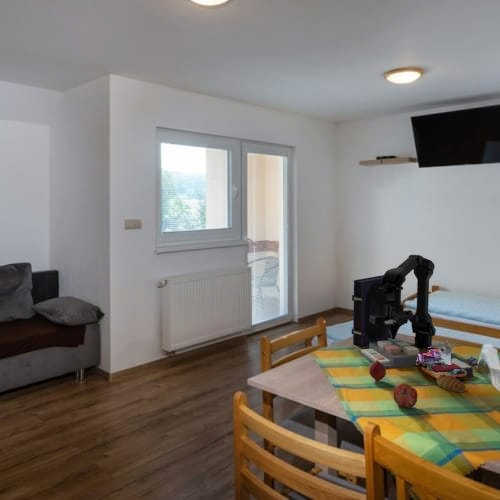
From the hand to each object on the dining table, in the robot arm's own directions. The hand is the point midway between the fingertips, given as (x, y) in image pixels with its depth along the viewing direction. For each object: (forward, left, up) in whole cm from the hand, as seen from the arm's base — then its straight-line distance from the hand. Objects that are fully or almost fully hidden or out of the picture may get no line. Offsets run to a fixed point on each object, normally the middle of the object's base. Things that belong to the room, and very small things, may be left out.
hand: (392, 339), depth 189 cm
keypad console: (0, -3, -9) cm, 10 cm away
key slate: (-6, -10, -6) cm, 13 cm away
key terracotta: (0, 0, -6) cm, 6 cm away
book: (-5, -28, -9) cm, 30 cm away
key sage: (-6, -3, -6) cm, 9 cm away
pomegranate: (+17, +40, -10) cm, 44 cm away
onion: (+16, +19, -9) cm, 27 cm away
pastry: (-6, +30, -10) cm, 32 cm away
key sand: (-6, +3, -6) cm, 9 cm away
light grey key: (0, -6, -6) cm, 9 cm away
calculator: (-13, +17, -10) cm, 23 cm away
